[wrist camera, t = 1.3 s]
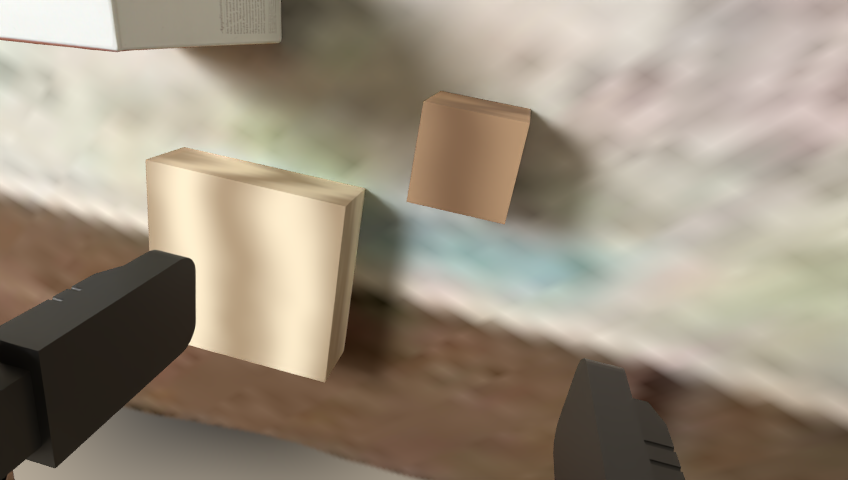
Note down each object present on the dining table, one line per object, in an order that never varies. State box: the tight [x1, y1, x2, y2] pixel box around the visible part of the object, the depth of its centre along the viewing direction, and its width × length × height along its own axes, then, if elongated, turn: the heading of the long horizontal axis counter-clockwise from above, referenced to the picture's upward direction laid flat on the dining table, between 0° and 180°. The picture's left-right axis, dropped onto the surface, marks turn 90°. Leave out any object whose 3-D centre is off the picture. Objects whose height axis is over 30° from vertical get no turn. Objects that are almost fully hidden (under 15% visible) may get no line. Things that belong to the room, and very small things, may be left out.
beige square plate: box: [146, 147, 365, 382], centre depth 33 cm, size 12×12×4 cm
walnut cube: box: [407, 91, 531, 224], centre depth 27 cm, size 5×5×5 cm
